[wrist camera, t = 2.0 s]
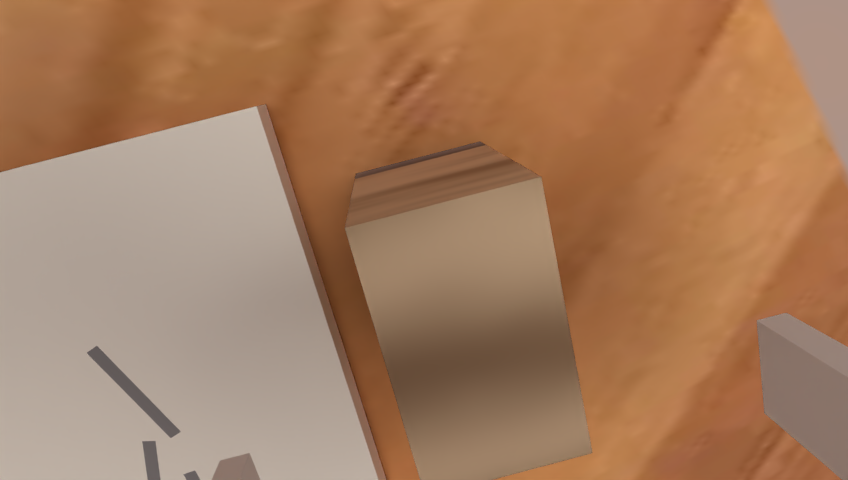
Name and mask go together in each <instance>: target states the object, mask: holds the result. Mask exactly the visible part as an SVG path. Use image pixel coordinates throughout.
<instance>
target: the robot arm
mask: <svg viewBox="0 0 848 480" xmlns="http://www.w3.org/2000/svg"><path fill="white" fill-rule="evenodd" d="M757 329H758V341H759V353H760V365H761V377H762V390H763V402H764V413H765V414H766V415H767V416H768V417H770V418H771V419H772V420H773V421H774V422H775V423H777V424H778V425H779V426H780V427H781V428H782V429H784V430H785V431H786V432H787V433H788V434H789V435H791V436H792V437H793V438H794V439H795V440H796V441H798V442H799V443H800V444H801V445H802V446H804V447H805V448H806V449H807V450H808V451H809V452H811V453H812V454H813V455H814V456H815V457H816V458H818V459H819V460H820V461H821V462H822V463H823V464H825V465H826V466H827V467H828V468H829V469H830V470H832V471H833V472H834V473H835V474H836V475H837V476H839V477H840V478H841V479H842V480H848V347H846V346H845V345H843V344H841V343H839V342H838V341H836V340H834V339H832V338H830V337H829V336H827V335H825V334H823V333H821V332H820V331H818V330H816V329H814V328H813V327H811V326H809V325H807V324H805V323H804V322H802V321H800V320H798V319H796V318H795V317H793V316H791V315H789V314H788V313H783V314H780V315H776V316H772V317H768V318H764V319H760V320H757ZM212 480H260V478H259V475H258V473H257V470H256V468H255V465H254V463H253V460H252V458H251V455H250V453H247V454H243V455H239V456H235V457H232V458H228V459H224V460H220V461H219V464H218V466H217V468H216V471H215V473H214V475H213V478H212Z"/></svg>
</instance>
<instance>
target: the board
mask: <svg viewBox="0 0 848 480" xmlns="http://www.w3.org/2000/svg"><path fill="white" fill-rule="evenodd" d="M247 453H250V455H251V458H252V460H253V463H254V465H255V468H256V470H257V473H258V475H259V478H260V480H386V477H385V474H384V471H383V467H382V464H381V461H380V458H379V455H378V452H377V449H376V446H375V443H374V439H373V436H372V433H371V430H370V427H369V424H368V421H367V418H366V415H365V411H364V408H363V405H362V402H361V399H360V396H359V393H358V390H357V387H356V383H355V380H354V377H353V374H352V371H351V368H350V365H349V362H348V359H347V355H346V352H345V349H344V346H343V343H342V340H341V337H340V334H339V331H338V327H337V324H336V321H335V318H334V315H333V312H332V309H331V306H330V303H329V299H328V296H327V293H326V290H325V287H324V284H323V281H322V278H321V275H320V271H319V268H318V265H317V262H316V259H315V256H314V253H313V250H312V247H311V243H310V240H309V237H308V234H307V231H306V228H305V225H304V222H303V219H302V215H301V212H300V209H299V206H298V203H297V200H296V197H295V194H294V191H293V187H292V184H291V181H290V178H289V175H288V172H287V169H286V166H285V163H284V159H283V156H282V153H281V150H280V147H279V144H278V141H277V138H276V135H275V131H274V128H273V125H272V122H271V119H270V116H269V113H268V110H267V107H266V104H265V105H260V106H256V107H252V108H248V109H244V110H240V111H236V112H232V113H228V114H224V115H221V116H217V117H213V118H209V119H205V120H201V121H197V122H193V123H190V124H186V125H182V126H178V127H174V128H170V129H166V130H162V131H158V132H155V133H151V134H147V135H143V136H139V137H135V138H131V139H127V140H123V141H120V142H116V143H112V144H108V145H104V146H100V147H96V148H92V149H89V150H85V151H81V152H77V153H73V154H69V155H65V156H61V157H57V158H54V159H50V160H46V161H42V162H38V163H34V164H30V165H26V166H22V167H19V168H15V169H11V170H7V171H3V172H0V480H212V478H213V475H214V473H215V471H216V468H217V466H218V464H219V461H220V460H224V459H228V458H232V457H235V456H239V455H243V454H247Z"/></svg>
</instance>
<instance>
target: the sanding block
mask: <svg viewBox="0 0 848 480" xmlns="http://www.w3.org/2000/svg"><path fill="white" fill-rule="evenodd" d="M345 231H346V234H347V238H348V241H349V244H350V248H351V251H352V254H353V258H354V261H355V264H356V268H357V271H358V274H359V278H360V281H361V284H362V288H363V291H364V294H365V298H366V301H367V304H368V308H369V311H370V314H371V318H372V321H373V324H374V328H375V331H376V334H377V338H378V341H379V344H380V348H381V351H382V354H383V358H384V361H385V364H386V368H387V371H388V374H389V378H390V381H391V384H392V388H393V391H394V394H395V398H396V401H397V404H398V408H399V411H400V414H401V418H402V421H403V424H404V428H405V431H406V434H407V438H408V441H409V444H410V448H411V451H412V454H413V458H414V461H415V464H416V468H417V471H418V474H419V478H420V480H493V479H497V478H501V477H505V476H508V475H512V474H516V473H520V472H523V471H527V470H531V469H534V468H538V467H542V466H546V465H549V464H553V463H557V462H561V461H564V460H568V459H572V458H576V457H579V456H583V455H587V454H591V453H592V448H591V442H590V437H589V432H588V426H587V421H586V416H585V410H584V405H583V399H582V394H581V389H580V383H579V378H578V372H577V367H576V362H575V356H574V351H573V346H572V340H571V335H570V329H569V324H568V319H567V313H566V308H565V302H564V297H563V292H562V286H561V281H560V275H559V270H558V265H557V259H556V254H555V249H554V243H553V238H552V232H551V227H550V222H549V216H548V211H547V205H546V200H545V195H544V189H543V184H542V179H541V176H539V175H537V174H536V173H534V172H532V171H530V170H529V169H527V168H525V167H523V166H522V165H520V164H518V163H517V162H515V161H513V160H511V159H510V158H508V157H506V156H504V155H503V154H501V153H499V152H498V151H496V150H494V149H492V148H491V147H489V146H487V145H485V144H484V143H482V142H476V143H472V144H469V145H465V146H461V147H457V148H453V149H449V150H445V151H442V152H438V153H434V154H430V155H426V156H422V157H418V158H415V159H411V160H407V161H403V162H399V163H395V164H391V165H388V166H384V167H380V168H376V169H372V170H368V171H364V172H361V173H357V174H356V176H355V180H354V185H353V190H352V195H351V200H350V205H349V209H348V214H347V219H346V224H345Z"/></svg>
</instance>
